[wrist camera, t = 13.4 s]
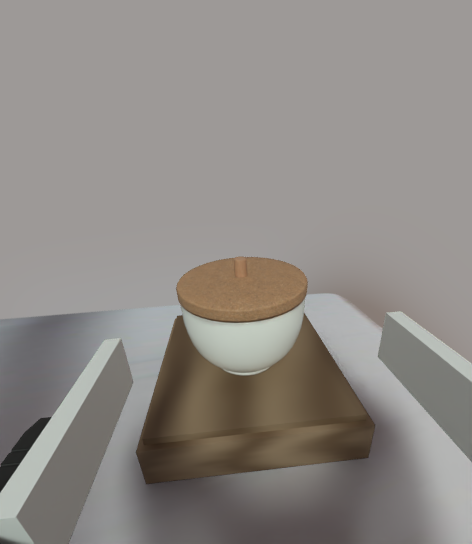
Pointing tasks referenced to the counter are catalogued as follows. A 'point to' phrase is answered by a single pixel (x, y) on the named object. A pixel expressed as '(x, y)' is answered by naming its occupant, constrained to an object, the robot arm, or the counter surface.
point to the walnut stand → (250, 414)
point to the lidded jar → (243, 311)
